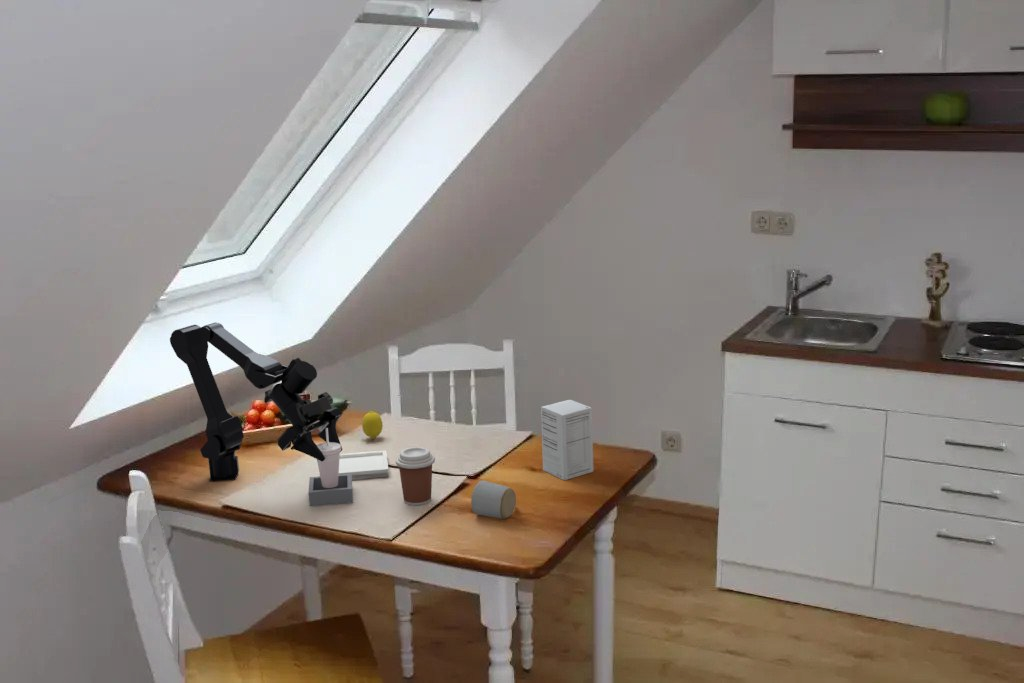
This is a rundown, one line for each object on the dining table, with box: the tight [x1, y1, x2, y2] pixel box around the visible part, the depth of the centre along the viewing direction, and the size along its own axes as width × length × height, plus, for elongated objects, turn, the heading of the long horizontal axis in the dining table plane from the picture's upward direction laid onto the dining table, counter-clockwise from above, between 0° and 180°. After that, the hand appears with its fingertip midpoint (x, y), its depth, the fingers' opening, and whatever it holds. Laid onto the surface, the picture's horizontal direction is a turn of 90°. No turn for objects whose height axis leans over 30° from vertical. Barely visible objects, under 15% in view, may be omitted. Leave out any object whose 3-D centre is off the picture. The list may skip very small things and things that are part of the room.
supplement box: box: [540, 399, 594, 481], centre depth 260 cm, size 10×9×17 cm
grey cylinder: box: [470, 479, 517, 520], centre depth 237 cm, size 11×8×8 cm
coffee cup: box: [395, 446, 436, 507], centre depth 246 cm, size 9×9×12 cm
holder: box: [307, 474, 354, 508], centre depth 250 cm, size 10×10×4 cm
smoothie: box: [316, 428, 342, 488], centre depth 248 cm, size 6×6×14 cm
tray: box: [339, 449, 390, 481], centre depth 268 cm, size 14×14×2 cm
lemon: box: [361, 410, 383, 440], centre depth 290 cm, size 6×6×8 cm
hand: (332, 455), depth 248 cm, fingers closed on smoothie, 6 cm apart
